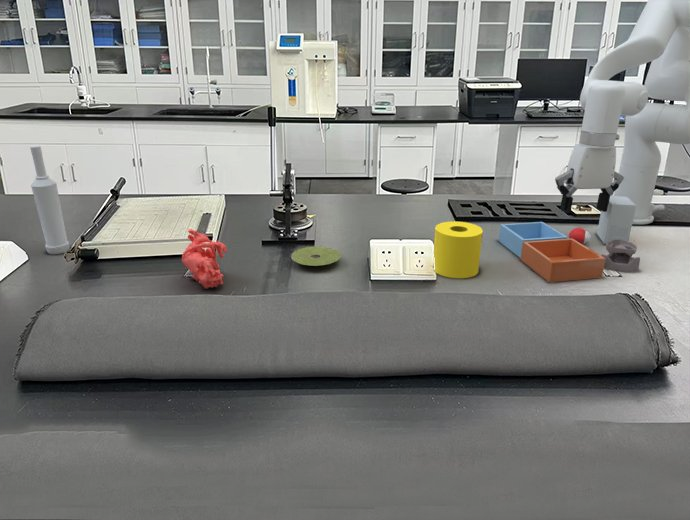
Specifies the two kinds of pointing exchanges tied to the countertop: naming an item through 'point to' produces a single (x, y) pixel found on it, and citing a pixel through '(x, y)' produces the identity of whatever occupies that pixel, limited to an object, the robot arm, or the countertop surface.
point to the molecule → (580, 235)
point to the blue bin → (526, 234)
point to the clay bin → (562, 260)
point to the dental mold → (621, 256)
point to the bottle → (48, 207)
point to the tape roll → (457, 249)
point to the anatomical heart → (203, 259)
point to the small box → (616, 220)
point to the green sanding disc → (315, 256)
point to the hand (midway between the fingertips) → (583, 211)
